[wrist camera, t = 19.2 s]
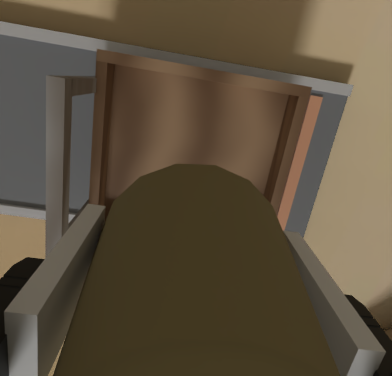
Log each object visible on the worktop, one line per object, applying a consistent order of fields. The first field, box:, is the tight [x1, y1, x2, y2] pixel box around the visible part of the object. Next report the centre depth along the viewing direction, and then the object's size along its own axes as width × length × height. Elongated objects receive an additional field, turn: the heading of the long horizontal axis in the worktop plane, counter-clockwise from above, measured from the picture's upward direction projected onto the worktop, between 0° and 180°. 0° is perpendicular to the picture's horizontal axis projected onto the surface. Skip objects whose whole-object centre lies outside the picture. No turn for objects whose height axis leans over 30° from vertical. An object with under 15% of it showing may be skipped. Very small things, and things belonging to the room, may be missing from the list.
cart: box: [46, 49, 312, 257], centre depth 25 cm, size 17×16×12 cm
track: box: [0, 21, 353, 238], centre depth 30 cm, size 38×18×1 cm, turn 81°
